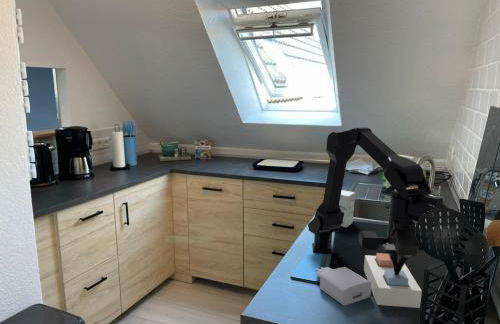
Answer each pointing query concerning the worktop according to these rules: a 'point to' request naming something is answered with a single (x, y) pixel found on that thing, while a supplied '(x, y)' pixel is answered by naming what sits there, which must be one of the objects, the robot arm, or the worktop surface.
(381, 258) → the brick key
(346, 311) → the worktop surface
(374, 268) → the key console
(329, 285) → the charger
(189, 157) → the worktop surface
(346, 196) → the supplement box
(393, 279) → the slate key
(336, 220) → the robot arm
